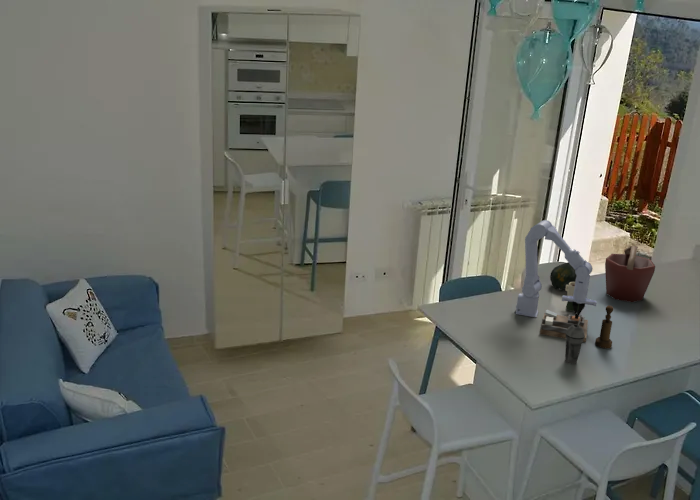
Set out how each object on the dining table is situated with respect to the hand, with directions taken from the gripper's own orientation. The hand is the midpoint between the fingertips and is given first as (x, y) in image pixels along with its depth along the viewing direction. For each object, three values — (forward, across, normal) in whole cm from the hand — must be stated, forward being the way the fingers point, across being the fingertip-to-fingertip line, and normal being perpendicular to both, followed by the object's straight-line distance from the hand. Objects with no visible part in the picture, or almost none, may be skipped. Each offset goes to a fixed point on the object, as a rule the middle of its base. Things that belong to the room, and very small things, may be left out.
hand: (576, 317), depth 307 cm
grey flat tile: (0, -11, 0) cm, 11 cm away
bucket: (+4, +22, +49) cm, 54 cm away
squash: (+4, -8, +46) cm, 47 cm away
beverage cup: (+4, 0, -37) cm, 37 cm away
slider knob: (+1, -11, -11) cm, 16 cm away
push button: (+1, 0, 0) cm, 1 cm away
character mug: (+4, -2, +18) cm, 19 cm away
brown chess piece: (+4, +12, -16) cm, 20 cm away
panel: (+4, -4, -6) cm, 8 cm away
